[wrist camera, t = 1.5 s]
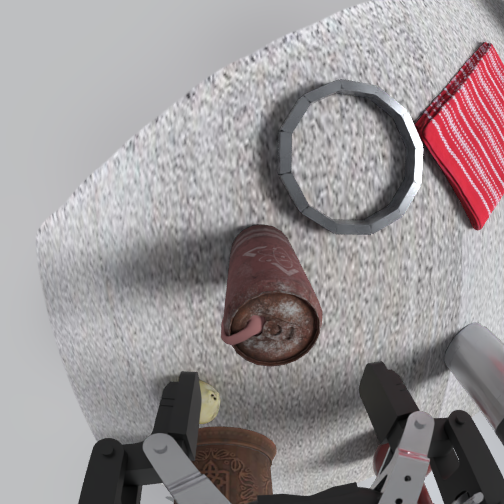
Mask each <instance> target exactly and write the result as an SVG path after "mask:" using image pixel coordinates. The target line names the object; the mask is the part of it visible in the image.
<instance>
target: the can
mask: <svg viewBox="0 0 504 504" xmlns="http://www.w3.org/2000/svg"><path fill="white" fill-rule="evenodd" d="M321 326H322V309H321V307H320V304H319V301H318V299H317V297H316V294H315V292H314V290H313V288H312V286H311V284H310V282H309V280H308V278H307V276H306V274H305V272H304V270H303V268H302V266H301V264H300V262H299V260H298V258H297V256H296V254H295V252H294V250H293V248H292V246H291V244H290V242H289V240H288V238H287V237H286V236H285V235H284V234H283V233H282V231H280V230H278V229H276V228H275V227H273V226H268V225H254V226H251V227H249V228H247V229H244V230H243V231H242V232H241V233H240V234H239V235H238V236H237V237H236V239H235V240H234V242H233V244H232V248H231V253H230V261H229V270H228V279H227V289H226V298H225V308H224V317H223V320H222V324H221V338H222V340H223V341H224V342H225V343H226V344H230V345H232V347H233V348H234V349H235V351H236V353H238V354H239V355H240V356H241V357H243V358H244V359H245V360H247V361H249V362H252V363H254V364H257V365H263V366H279V365H285V364H288V363H291V362H293V361H296V360H298V359H299V358H301V357H302V356H304V355H305V354H307V353H308V352H309V350H310V349H311V348H312V347H313V346H314V345H315V343H316V341H317V338H318V336H319V333H320V328H321Z"/></svg>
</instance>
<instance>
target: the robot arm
mask: <svg viewBox="0 0 504 504" xmlns="http://www.w3.org/2000/svg"><path fill="white" fill-rule="evenodd" d="M444 360H445V364H446V366H447V367H448V368H449V369H450V371H451V372H452V373H453V375H454V376H455V377H456V379H457V380H458V381H459V383H460V384H461V385H462V386H463V388H464V389H465V390H466V392H467V393H468V395H469V396H470V397H471V399H472V400H473V401H474V403H475V404H476V406H477V407H478V408H479V410H480V411H481V413H482V414H483V415H484V417H485V418H486V420H487V421H488V422H489V424H490V425H491V427H492V428H493V430H494V431H495V433H496V435H497V436H498V438H499V439H500V441H501V442H502V444H503V445H504V343H503V342H502V341H501V340H500V339H499V338H497V337H496V336H495V335H494V334H493V333H492V332H491V331H490V330H489V329H488V328H487V327H483V326H482V325H481V324H480V323H472V324H470V325H468V326H466V327H465V328H464V329H462V330H461V331H460V332H459V333H458V334H457V335H456V336H455V338H454V339H453V340H452V342H451V343H450V345H449V347H448V349H447V351H446V354H445V358H444ZM359 393H360V397H361V399H362V401H363V404H364V406H365V408H366V411H367V413H368V415H369V418H370V420H371V423H372V425H373V427H374V430H375V432H376V435H377V437H378V440H379V442H380V445H383V444H386V443H389V445H390V448H389V449H388V452H387V454H386V457H385V459H384V462H383V464H382V466H381V469H380V471H379V473H378V475H377V477H376V479H375V481H374V483H373V484H372V486H371V488H370V489H369V488H363V487H357V483H356V482H354V483H350V484H345V485H340V486H335V487H332V488H329V489H327V490H325V491H322V492H319V493H317V494H314V495H311V496H300V495H289V494H273V495H257V500H256V501H252V502H249V503H246V504H417V501H418V498H419V495H420V493H421V490H422V486H423V483H424V480H425V477H426V474H427V470H428V466H429V464H430V467H431V469H432V472H433V474H434V477H435V480H436V482H437V485H438V488H439V490H440V493H441V496H442V499H443V501H444V504H504V479H503V476H502V474H501V472H500V470H499V468H498V466H497V464H496V462H495V460H494V458H493V456H492V454H491V452H490V450H489V449H488V446H487V445H486V443H485V441H484V439H483V437H482V435H481V434H480V432H479V430H478V428H477V427H476V425H475V423H474V421H473V420H472V418H471V416H470V415H469V414H468V413H467V412H465V411H462V410H456V411H453V412H452V413H451V414H450V415H449V417H448V418H433V417H432V416H431V415H430V414H428V413H427V412H424V411H420V410H419V409H418V407H417V405H416V403H415V402H414V400H413V398H412V396H411V395H410V393H409V391H408V390H407V388H406V386H405V385H404V384H403V381H402V380H401V378H400V376H399V375H398V374H396V373H395V372H394V371H393V370H388V369H387V368H386V366H385V364H384V363H383V362H382V361H380V362H374V363H368V364H367V365H366V367H365V370H364V373H363V376H362V379H361V382H360V386H359ZM201 403H202V397H201V389H200V383H199V377H198V373H197V372H183V371H182V372H181V374H180V378H179V382H169V384H168V385H167V386H166V387H165V388H164V390H163V394H162V399H161V401H160V406H159V409H158V413H157V417H156V421H155V424H154V428H153V432H152V434H151V435H150V436H149V437H147V438H146V439H145V441H143V442H140V443H135V444H125V445H122V444H121V443H120V442H119V441H117V440H115V439H111V438H105V439H102V440H100V441H98V442H97V443H96V444H95V445H94V447H93V450H92V453H91V457H90V460H89V464H88V468H87V471H86V475H85V479H84V482H83V486H82V491H81V495H80V499H79V503H78V504H140V500H141V491H142V485H149V484H157V483H163V484H164V485H165V487H166V488H167V489H168V491H169V492H170V494H171V495H172V496H173V498H174V499H175V500H176V502H177V503H178V504H231V503H230V502H229V501H228V500H227V499H226V497H225V496H224V495H223V494H222V493H221V492H220V491H219V490H218V489H217V488H216V487H215V486H214V484H213V483H212V482H211V481H210V480H209V479H208V478H207V477H206V476H205V475H204V474H202V473H200V472H199V471H198V469H197V468H196V467H195V466H194V465H193V463H192V462H191V461H195V456H196V447H197V438H198V429H199V421H200V412H201ZM453 448H454V449H453ZM454 450H455V451H454ZM455 452H456V453H455ZM456 454H457V456H458V458H459V460H458V458H457V456H456Z"/></svg>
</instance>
